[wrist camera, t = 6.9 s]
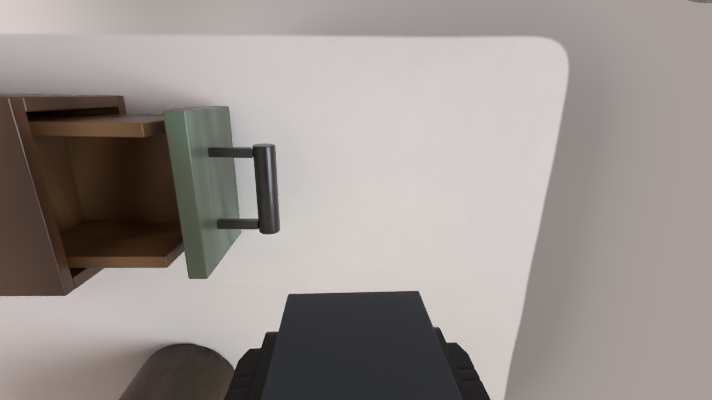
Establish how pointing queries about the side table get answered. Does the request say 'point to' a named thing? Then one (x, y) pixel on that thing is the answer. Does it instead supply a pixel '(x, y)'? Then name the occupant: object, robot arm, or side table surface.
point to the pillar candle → (181, 375)
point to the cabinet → (35, 198)
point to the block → (358, 350)
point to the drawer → (150, 187)
